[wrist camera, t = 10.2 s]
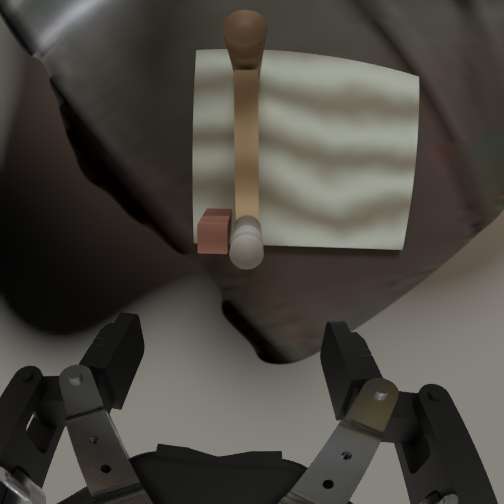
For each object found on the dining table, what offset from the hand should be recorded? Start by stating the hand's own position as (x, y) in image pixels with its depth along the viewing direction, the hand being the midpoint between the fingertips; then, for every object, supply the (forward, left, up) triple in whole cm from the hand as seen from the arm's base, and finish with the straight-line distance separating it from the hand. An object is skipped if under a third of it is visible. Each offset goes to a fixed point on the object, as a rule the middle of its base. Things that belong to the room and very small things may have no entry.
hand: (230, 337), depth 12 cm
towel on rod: (-7, +8, -26) cm, 28 cm away
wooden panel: (-5, 0, -24) cm, 25 cm away
